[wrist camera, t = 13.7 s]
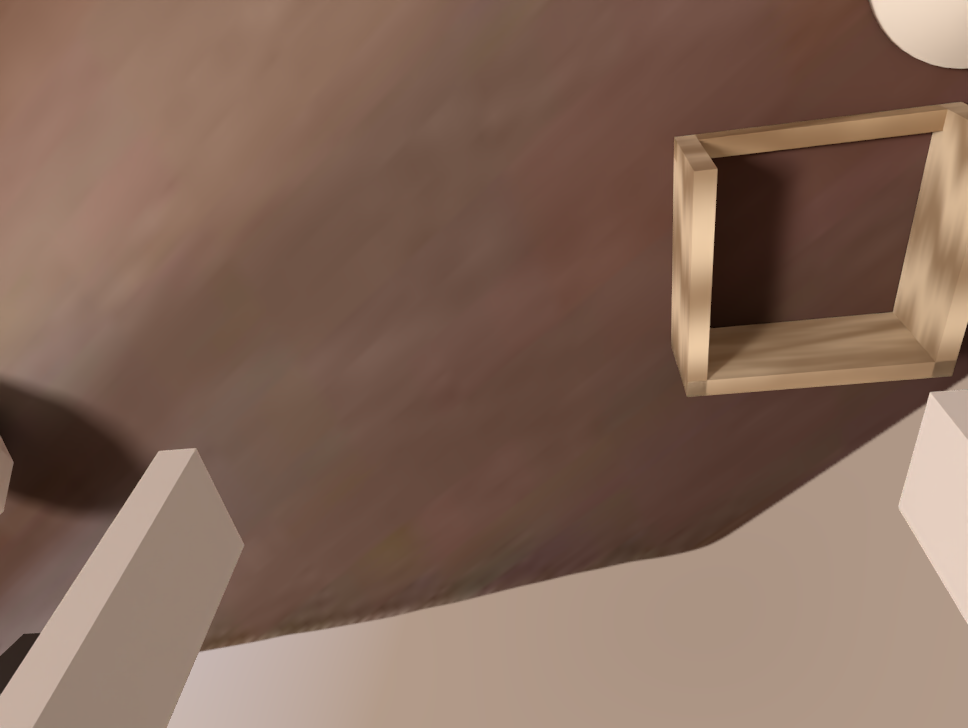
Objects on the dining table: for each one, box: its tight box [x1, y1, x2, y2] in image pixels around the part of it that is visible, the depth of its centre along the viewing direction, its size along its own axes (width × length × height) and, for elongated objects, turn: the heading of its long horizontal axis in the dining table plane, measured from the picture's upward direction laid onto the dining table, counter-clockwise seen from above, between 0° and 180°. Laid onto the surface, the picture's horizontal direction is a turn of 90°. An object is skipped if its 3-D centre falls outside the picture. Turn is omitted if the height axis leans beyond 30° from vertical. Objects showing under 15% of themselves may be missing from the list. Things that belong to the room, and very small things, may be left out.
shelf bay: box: [671, 102, 968, 397], centre depth 42 cm, size 15×16×6 cm
